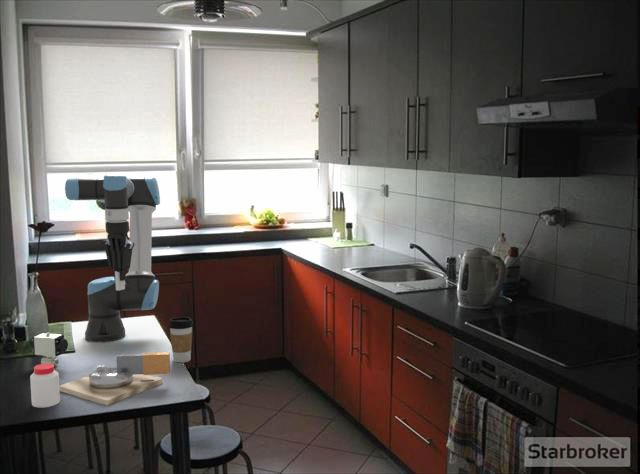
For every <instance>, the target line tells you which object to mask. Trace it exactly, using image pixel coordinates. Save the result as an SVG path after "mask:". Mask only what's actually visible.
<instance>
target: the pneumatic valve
mask: <svg viewBox="0 0 640 474" xmlns="http://www.w3.org/2000/svg"><path fill="white" fill-rule="evenodd" d="M68 346H69V342H68V340H67V339H66V338H65V334H60V333H59V334H58V333H50V331H49V332H46V333H43V332H41V333H38V334H36V335H33V336H32V338H31V339H30V340H29V349H30V350H32V352H33V356H42V358H41V359H40V360H41V361H40V364H47V363H49V364H53V365H54V367H58V364H59V359H58V357H59V356H60V355H63V354H64V353H66V352H67V349H68Z"/></svg>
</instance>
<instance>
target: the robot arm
mask: <svg viewBox="0 0 640 474" xmlns="http://www.w3.org/2000/svg"><path fill="white" fill-rule="evenodd" d="M64 193H65V197H66V198H67V199H68V200H69V201H97V202H99V203H104V217H105V218H104V219H105V232H106V233H107V237H106V239H103V240H102V241H101V242H102V245H103V247H104V251H105V255H106V259H107V264H108V268H109V269H112V271H113V275H114V276H105V277H100V278H97V279H94V280H92V281H90V282H89V283H88V284H87V292H86V293H87V304H88V305H87V306H88V308H87V310H88V321H87V325H86V329H85V331H84V339H85V340H86V341H88V342H94V343H95V342H96V343H97V342H99V343H100V342H101V343H102V342H114V341H117V340H121V339H122V338H124V337H125V336H126V329H125V326H124V323H123V321H122V318H121V311H147V310H148V311H149V310H153V309H155V307H156V306H157V303H158V297H159V293H160V292H159V291H160V281H159V280H158V279H156V275H155V274H154V273H153V272H152V236H153V235H152V232H153V230H152V229H153V222H152V221H153V213H154V212H155V211H156V210H157V209H156V208H157V206H159V205H160V204H161V196H160V190H159V185H158V181H157V178H156V177H154V176H150V175H149V176H148V175H131V176H130V175H128V176H127V175H125V174H122V173H113V174H105V175H104V176H103V177H102V178H100V177H97V178H95V177H94V178H91V177H89V178H87V177H86V178H85V177H84V178H81V177H79V178H78V177H75V178H67V180H66V181H65V184H64ZM128 233H129V235H128ZM126 271H128V272H127V273H126Z"/></svg>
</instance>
